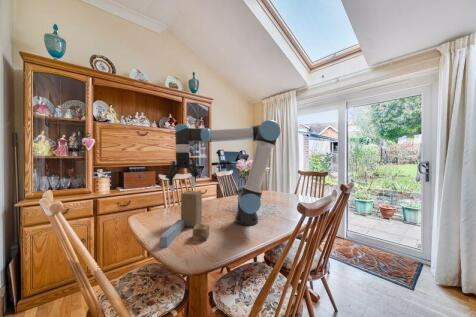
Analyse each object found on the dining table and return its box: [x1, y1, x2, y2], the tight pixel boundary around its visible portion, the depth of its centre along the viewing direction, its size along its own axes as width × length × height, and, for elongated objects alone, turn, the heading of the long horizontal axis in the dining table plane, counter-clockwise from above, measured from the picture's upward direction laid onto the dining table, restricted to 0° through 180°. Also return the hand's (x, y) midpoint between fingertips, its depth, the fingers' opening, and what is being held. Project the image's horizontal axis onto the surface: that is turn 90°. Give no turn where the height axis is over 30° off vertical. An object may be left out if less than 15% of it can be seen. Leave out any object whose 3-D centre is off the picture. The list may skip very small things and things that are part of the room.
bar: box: [159, 219, 185, 248], centre depth 106 cm, size 4×24×5 cm, turn 176°
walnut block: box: [192, 223, 210, 242], centre depth 105 cm, size 7×7×6 cm
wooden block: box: [180, 190, 203, 228], centre depth 125 cm, size 10×10×20 cm
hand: (183, 189), depth 114 cm, fingers open, 13 cm apart
